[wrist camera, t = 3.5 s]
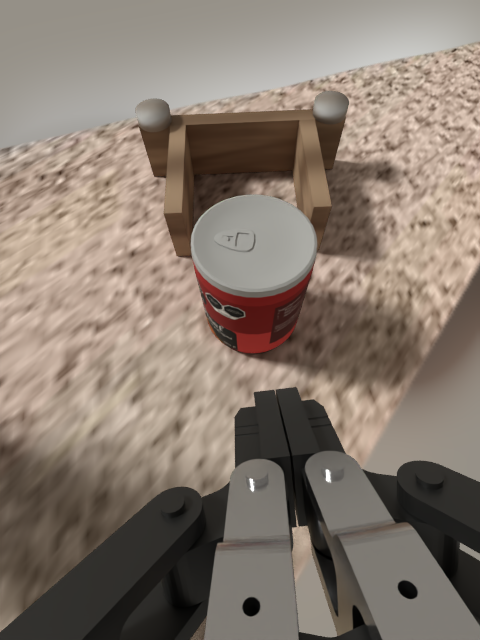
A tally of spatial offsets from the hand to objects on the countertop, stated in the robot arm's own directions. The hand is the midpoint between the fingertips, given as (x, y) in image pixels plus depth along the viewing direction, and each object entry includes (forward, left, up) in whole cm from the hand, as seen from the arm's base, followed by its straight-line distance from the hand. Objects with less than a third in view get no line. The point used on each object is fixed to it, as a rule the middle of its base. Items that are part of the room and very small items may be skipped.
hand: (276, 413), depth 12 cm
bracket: (-6, +24, -16) cm, 29 cm away
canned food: (-3, +11, -16) cm, 20 cm away
